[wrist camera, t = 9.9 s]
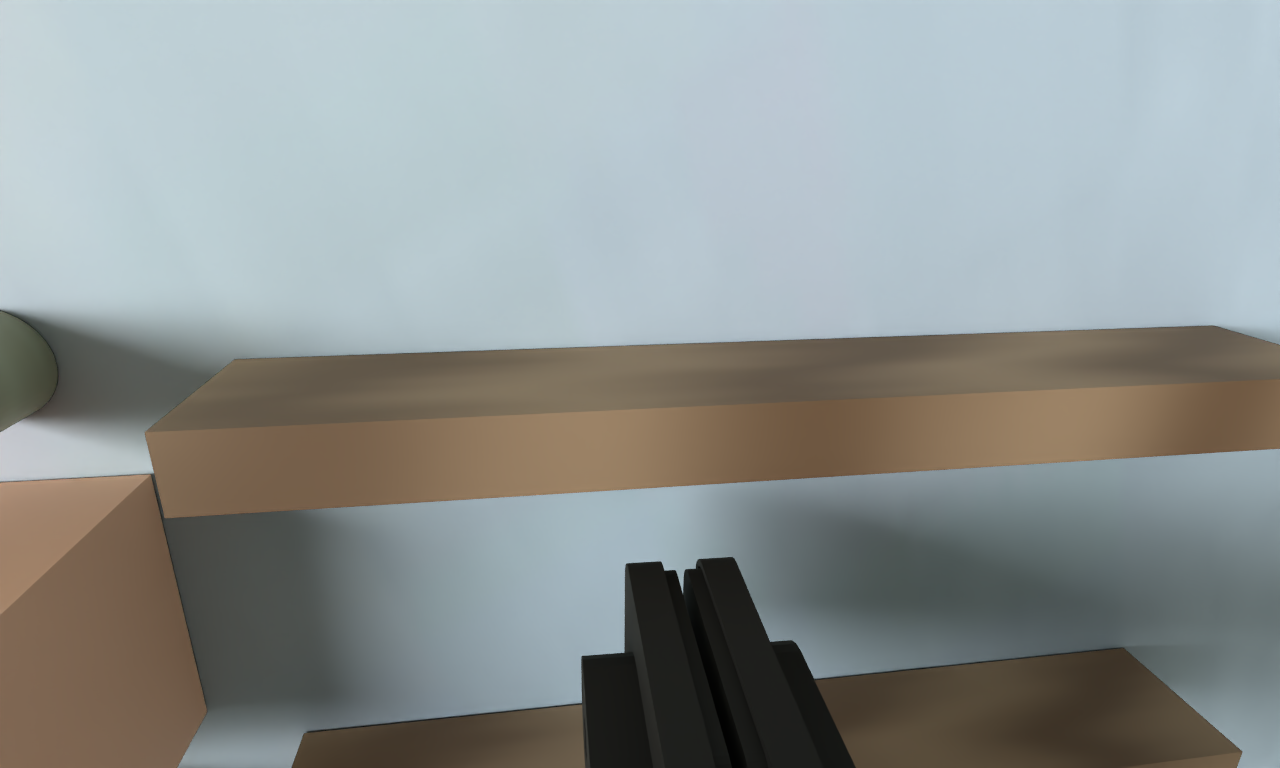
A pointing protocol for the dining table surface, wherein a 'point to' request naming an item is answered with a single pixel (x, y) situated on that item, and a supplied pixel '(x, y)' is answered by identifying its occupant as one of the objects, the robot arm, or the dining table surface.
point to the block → (91, 629)
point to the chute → (727, 453)
